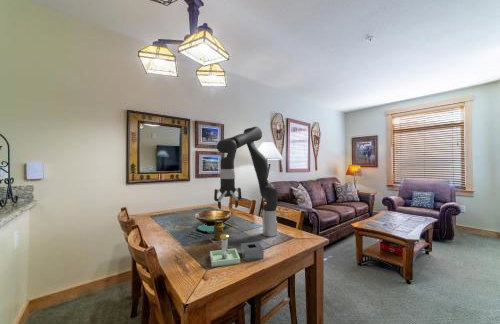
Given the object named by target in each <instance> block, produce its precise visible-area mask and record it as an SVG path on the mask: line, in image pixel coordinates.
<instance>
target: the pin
mask: <svg viewBox="0 0 500 324" xmlns="http://www.w3.org/2000/svg"><path fill="white" fill-rule="evenodd" d="M220 238H221V239H222V241H221V250H222V259H223V260H226V259H228V249H229V247H228V245H229V244H228V239H229V238H230V235H229V234H228V233H223V234H222V235H220Z"/></svg>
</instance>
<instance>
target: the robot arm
mask: <svg viewBox="0 0 500 324" xmlns="http://www.w3.org/2000/svg"><path fill="white" fill-rule="evenodd" d="M262 138H263V131H262V129H261V128H260V126H252V127H249V128H248V127H247V128H245V129H244V130H243V133H239V134H237V135H233V136H232V137H227V138H224V139H220V140H219V141H218V142H217V144H216V149H217V151H218V152H219V153H220V154H226V156H225V157H222V158H221V159H220V174H219V175H220V176H219V177H220V183H219V187H220V188H219V189H217V188H215V189H214V194H213V195H214V196H213V200H214V201H215V202H217V208H218V209H219V210H221V209H222V199H224V198H227V197H229V198H230V197H233V199H234V208H235V209H237V208H238V207H239V200H242V189H241V187H236V185H235V184H236V182H235V181H236V180H235V178H236V175H235V158H236V154H237V150H238V149H239V148H242V147H243V146H245V145H246V146H247V148H248V151H249V154H250V157H251V160H252V165H253V167H254V168H253V169H254V171H255V174H256V178H257V182H258V186H259V193H260V196H261V197H262V199H264V200H266V204H264V205H262V235H263V236H265V237H275V236H278V220H277V208H278V207H277V206H278V203H279V202H278V201H279V200H278V197H279V194H278V193H279V192H278V189H277V187H274V186H271V185H269V181H268V172H269V165H268V161H267V159H266V157H265V156H264V154H263V153H261V151H260V150H258V148H257V147H256V145H255V142H257V141H260V140H261V139H262ZM219 192H220V195H219V196H218V194H219ZM236 192H237V195H238V196H236V194H235V193H236Z"/></svg>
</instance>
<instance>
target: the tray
mask: <svg viewBox="0 0 500 324" xmlns="http://www.w3.org/2000/svg"><path fill="white" fill-rule="evenodd" d="M209 259H210V264H211V268H215V267H222V266H223V267H225V266H231V265H238V264H241V257H240V254H239V252H238V250H237V248H228V259H226V260H223V259H222V249H219V250H209Z"/></svg>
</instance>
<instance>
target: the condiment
mask: <svg viewBox="0 0 500 324" xmlns="http://www.w3.org/2000/svg"><path fill="white" fill-rule="evenodd" d="M214 222H215V225H214V232H213V237H211V238H209V240H210V242H212V243H213V244H214V243H217V242H222V239H221V238H220V235H222V234H224V228H223V224H224V221H223V220H222V219H217V220H214Z"/></svg>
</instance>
